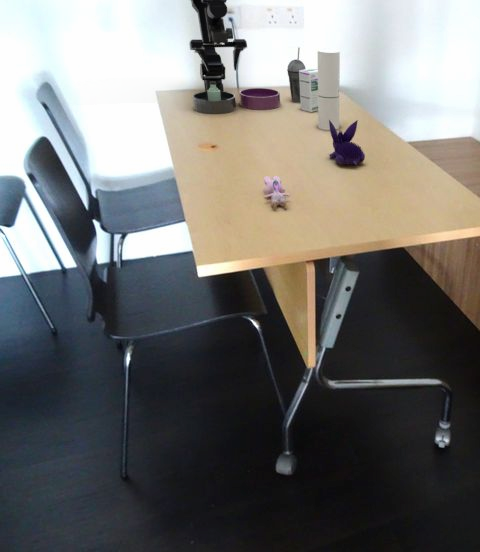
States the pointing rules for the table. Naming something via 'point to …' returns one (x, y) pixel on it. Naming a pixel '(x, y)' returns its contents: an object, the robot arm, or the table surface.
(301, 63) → the beverage cup
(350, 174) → the table surface
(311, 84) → the syrup box
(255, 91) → the plum bowl
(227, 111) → the charcoal bowl
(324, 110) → the cylindrical container
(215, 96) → the bottle
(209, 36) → the robot arm
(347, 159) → the creature
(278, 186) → the rabbit figure
